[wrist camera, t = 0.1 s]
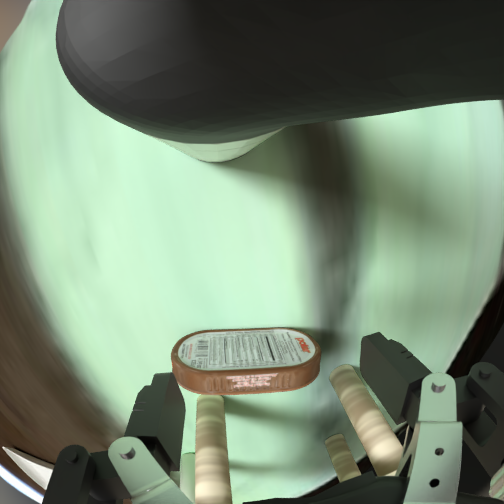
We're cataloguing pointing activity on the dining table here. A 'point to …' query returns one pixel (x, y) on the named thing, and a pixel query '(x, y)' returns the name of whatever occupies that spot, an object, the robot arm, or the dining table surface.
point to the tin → (245, 361)
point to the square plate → (32, 466)
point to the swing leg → (188, 476)
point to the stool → (364, 422)
